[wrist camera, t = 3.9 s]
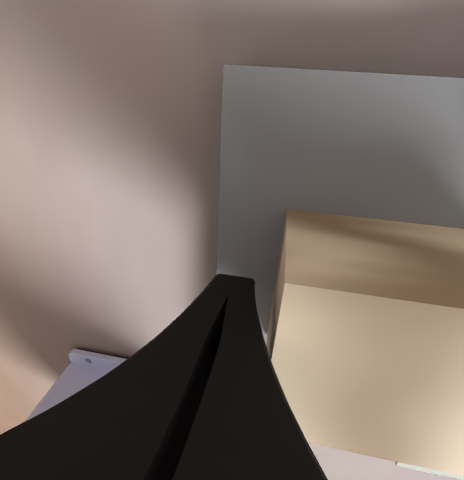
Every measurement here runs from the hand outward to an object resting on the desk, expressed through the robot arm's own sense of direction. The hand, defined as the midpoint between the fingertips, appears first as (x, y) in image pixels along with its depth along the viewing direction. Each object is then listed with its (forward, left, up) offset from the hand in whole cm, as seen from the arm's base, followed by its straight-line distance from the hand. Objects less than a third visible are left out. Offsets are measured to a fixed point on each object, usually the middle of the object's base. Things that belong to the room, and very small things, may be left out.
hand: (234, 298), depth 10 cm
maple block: (+4, 0, -1) cm, 5 cm away
